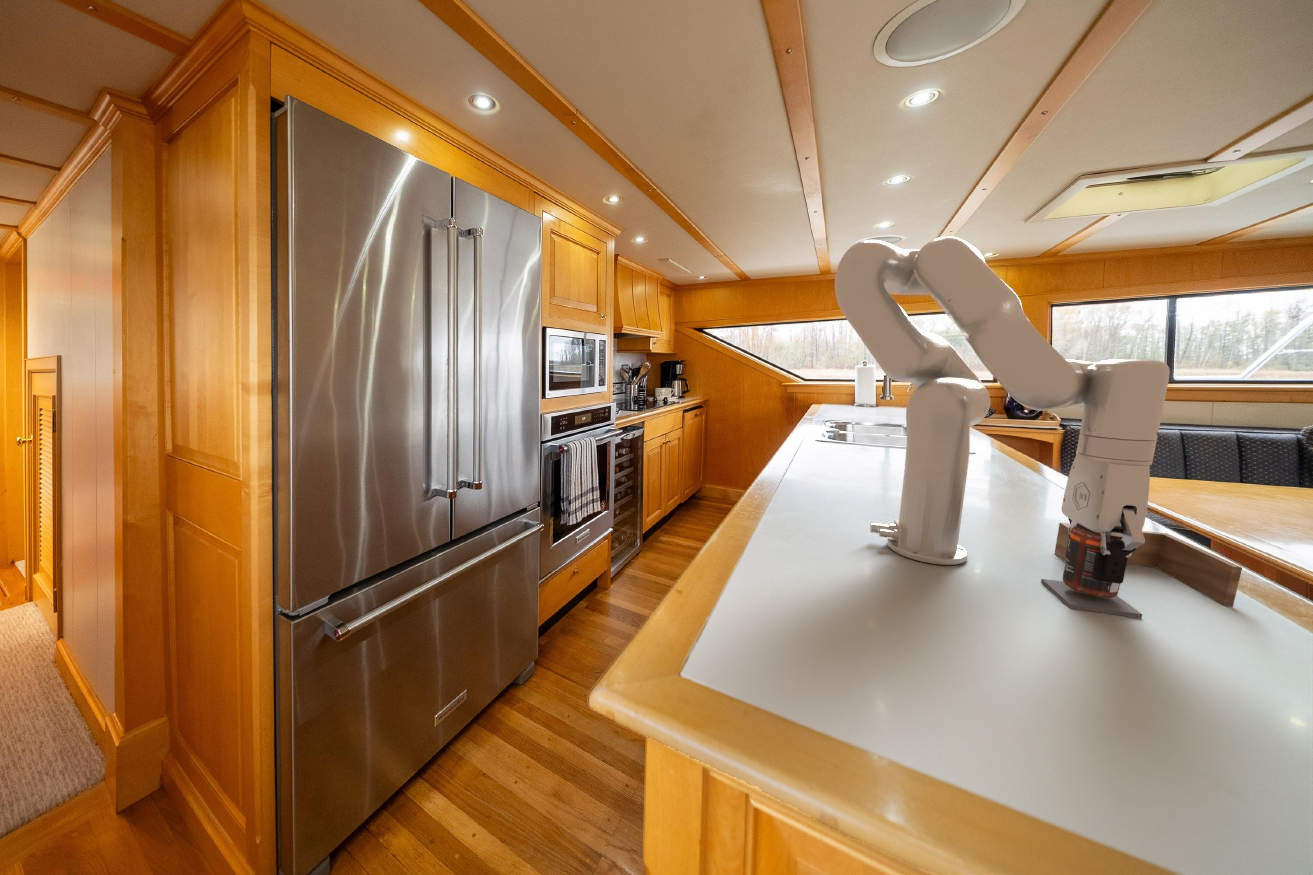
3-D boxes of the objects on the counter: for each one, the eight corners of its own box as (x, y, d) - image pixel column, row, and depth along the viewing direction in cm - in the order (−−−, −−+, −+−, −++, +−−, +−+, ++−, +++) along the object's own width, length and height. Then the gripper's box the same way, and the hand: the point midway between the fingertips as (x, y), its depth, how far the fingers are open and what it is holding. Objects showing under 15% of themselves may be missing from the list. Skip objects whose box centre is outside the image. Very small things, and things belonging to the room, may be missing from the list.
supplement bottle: (1129, 602, 62) (1145, 524, 60) (1079, 597, 63) (1093, 520, 61) (1097, 582, 68) (1110, 510, 66) (1052, 577, 69) (1064, 507, 67)
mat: (1069, 607, 63) (1070, 603, 63) (1041, 582, 71) (1041, 578, 71) (1141, 618, 61) (1142, 614, 61) (1104, 590, 68) (1105, 587, 68)
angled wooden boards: (1102, 589, 69) (1109, 552, 68) (1054, 553, 82) (1059, 522, 81) (1232, 606, 64) (1242, 567, 63) (1159, 566, 77) (1166, 533, 76)
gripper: (1049, 438, 72) (1032, 545, 74) (1121, 459, 55) (1096, 594, 58) (1108, 441, 69) (1088, 551, 72) (1201, 464, 53) (1171, 605, 56)
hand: (1092, 569), depth 65 cm, fingers closed on supplement bottle, 5 cm apart
